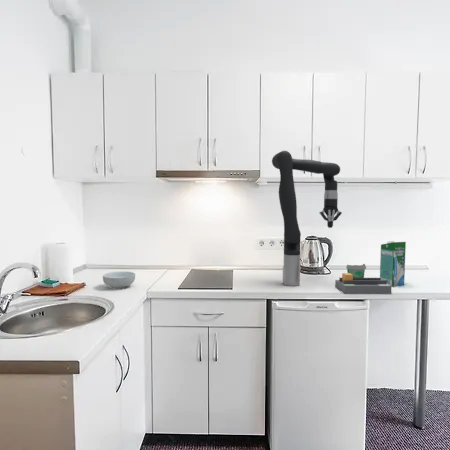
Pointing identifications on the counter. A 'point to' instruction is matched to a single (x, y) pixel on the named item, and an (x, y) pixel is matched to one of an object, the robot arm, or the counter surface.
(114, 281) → the cereal bowl
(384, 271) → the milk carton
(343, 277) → the switch knob
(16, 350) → the counter surface
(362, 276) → the food container
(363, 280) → the switch plate
